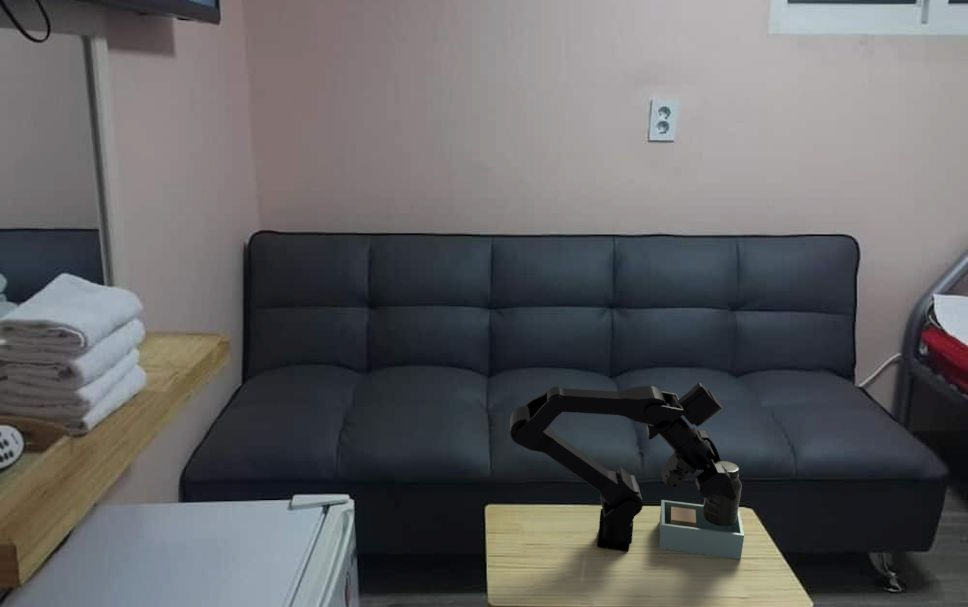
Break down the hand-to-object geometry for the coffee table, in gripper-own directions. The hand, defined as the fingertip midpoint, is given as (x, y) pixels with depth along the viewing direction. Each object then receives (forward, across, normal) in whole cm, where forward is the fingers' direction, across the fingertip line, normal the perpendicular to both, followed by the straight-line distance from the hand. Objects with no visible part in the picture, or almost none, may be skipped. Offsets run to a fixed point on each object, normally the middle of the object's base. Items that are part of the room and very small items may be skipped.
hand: (730, 489), depth 166 cm
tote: (+6, -1, -12) cm, 14 cm away
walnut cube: (+3, -2, -15) cm, 15 cm away
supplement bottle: (+4, 0, -6) cm, 7 cm away
